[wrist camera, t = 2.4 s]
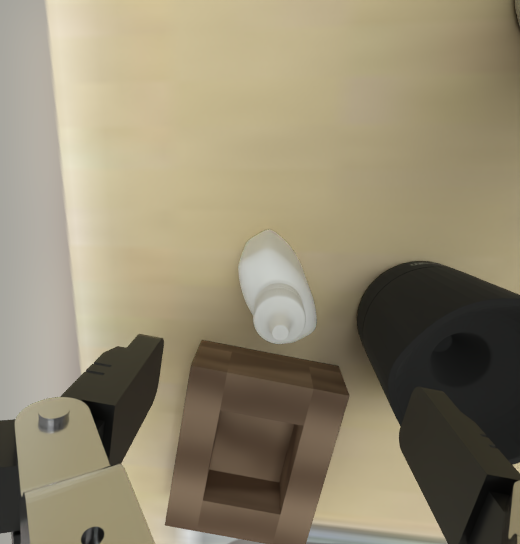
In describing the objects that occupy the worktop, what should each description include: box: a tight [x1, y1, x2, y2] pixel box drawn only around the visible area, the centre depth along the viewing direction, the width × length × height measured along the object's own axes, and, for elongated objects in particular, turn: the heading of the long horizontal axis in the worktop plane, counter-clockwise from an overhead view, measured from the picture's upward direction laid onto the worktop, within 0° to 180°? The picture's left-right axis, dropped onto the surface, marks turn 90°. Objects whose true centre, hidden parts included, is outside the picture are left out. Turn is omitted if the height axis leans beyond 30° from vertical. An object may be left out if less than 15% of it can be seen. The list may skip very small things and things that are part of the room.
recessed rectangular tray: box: [165, 340, 349, 544], centre depth 28 cm, size 14×11×4 cm
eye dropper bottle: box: [238, 229, 317, 344], centre depth 21 cm, size 4×6×12 cm
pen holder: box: [357, 261, 520, 465], centre depth 22 cm, size 9×9×10 cm
